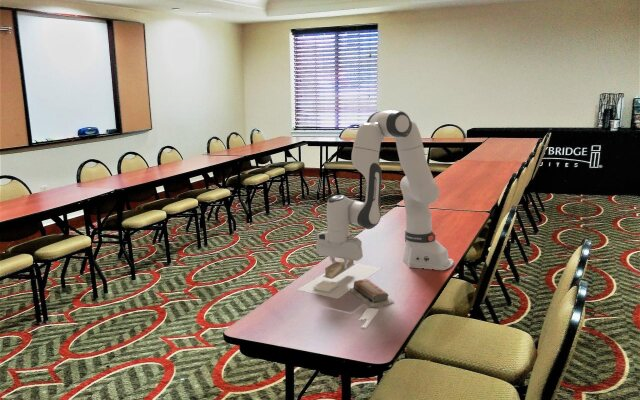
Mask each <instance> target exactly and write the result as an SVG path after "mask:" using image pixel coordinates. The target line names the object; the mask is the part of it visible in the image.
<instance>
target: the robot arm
mask: <svg viewBox="0 0 640 400" xmlns="http://www.w3.org/2000/svg"><path fill="white" fill-rule="evenodd" d="M384 138H393V139H394V141H395V145H396V150H397V155H398V158H399V164H400V168H401V169H402V170H403V173H404V174H405V175H404V176H403V177H402V178H401V180H400V183H399V187H400V190H401V193H402V197H403V205H404V211H405V222H406V223H405V227H406V229H405V233H404V240H405V248H404V254H403V257H402V262H403V263H404V264H406V265H407V267H409V268H415V269H422V268H424V270H432V269H434V270H435V271H444V270H445V271H446V270H448V269H450V268H451V267H452V266H454V260H453V259H452V258H449V252H448V249H447V248H446V247H444V245H442V244H441V243H440V242H439V241H438V240H436V237H437V232H435V233H434V231H432V213H431V210H430V206H429V205H431V204H434V203H435V202H436V201H438V199H439V196H440V188H439V186H438V184H437V183H436V181H435V180H434V176H433V174H432V172H431V168H430V166H429V164H428V162H427V157H426V154H425V148H424V144H423V139H422V136H421V133H420V130H419V127H418V125H417V123H415V122H414V121H412V120H411V119H410V116H409V115H408V113H406V112H404V111H402V110H396V109H395V110H391V109H389V110H384V111H376V112H374V113H372V114H371V115H370V116H369V117H368V119H367V120H366V122H365V123H362V124H360V126H358V130H357V132H356V135H355V137H354V141H353V144H352V145H353V147H352V151H351V162H352V163H351V164H352V165H353V167H354V168H355V169H356V170H357V171H358V172H359V173H361V174H362V175H363V176H364V178H365V181H366V186H365V201H360V200H355V199H351V198H349V197H347V196H346V195H344V194H337V195H335V194H334V195H332V196H331V197H330V198H328V199H327V202H326V203H327V204H326V221H327V227H326V228H327V229H326V230H323V231H321V232H318V234H316V238H317V240H316V245H315V249H316V253H317V255H318V256H323V257H324V256H325V257H328V258H329V260H330V261H331V264H333V263H334V262H336V261H337V260H336V259H341V258H342V259H344V261H345V263H343V264H342V268H343V269H346V268H347V263H348V261H349V260H353V261H357V262H358V261H360V260H361V259H362V258H364V257H363V256H364V255H363V248H362V246H363V245H362V241H361V239H359V238H358V237H354V236H350V224H353V225H355V226H359V227H360V228H361V227H362V228H363V229H366V230H372V229H374V228H375V227H376V226H377V225H378V224H379V223H380V221H381V218H382V212H381V193H382V178H383V177H382V174H383V173H382V168H381V166H380V150H381V145H382V144H381V143H382V141H383V140H384ZM335 258H336V259H335ZM434 270H433V271H434Z"/></svg>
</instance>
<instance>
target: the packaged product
mask: <svg viewBox="0 0 640 400" xmlns="http://www.w3.org/2000/svg"><path fill="white" fill-rule="evenodd" d="M350 292H351V293H352V294H354V295H355V297H357V298H358V299H359V300H360V301H362V302H363V303H364V305H365V306H367V307H368V308H372V309H375V308H379V307H383V306H388V305H392V304H394V303H395V301H394V300H392V298H390V297H389V293H388V292H386V291H385V290H383V289H382V288H381V287H380V286H378V285H377V284H375V283H373V282H372V281H371V280H370V279H368V278H367V279H363V280H358V281H355V282H354V288H351V289H350Z"/></svg>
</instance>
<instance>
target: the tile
mask: <svg viewBox="0 0 640 400" xmlns="http://www.w3.org/2000/svg"><path fill="white" fill-rule="evenodd" d="M338 286H339V283H336V282H332V281H327V280H324V281H322V282H320V283H319V284H317V285H315V286H314V290H318V291H323V292H328V293H329V292H330V291H332V290H333V289H335V288H336V287H338Z"/></svg>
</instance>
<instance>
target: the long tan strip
mask: <svg viewBox="0 0 640 400" xmlns="http://www.w3.org/2000/svg"><path fill="white" fill-rule="evenodd" d="M335 261H336V262H334V263H331V264H330V265H328V266H326V267H325V269H324V270H325V272H324V273H325V277H326V278H330V279H332V278H334V277H336V276H337V275H339V274H340V273H342V272H343V271H345V270H346V269H348V268H349V267H351V266H352V265H354V263H355V262H354V260H349V261H348V263H347V268H346V269H343V268H342V264H343V263H345V261H344V259H342V258H338V259H337V260H335Z"/></svg>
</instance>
